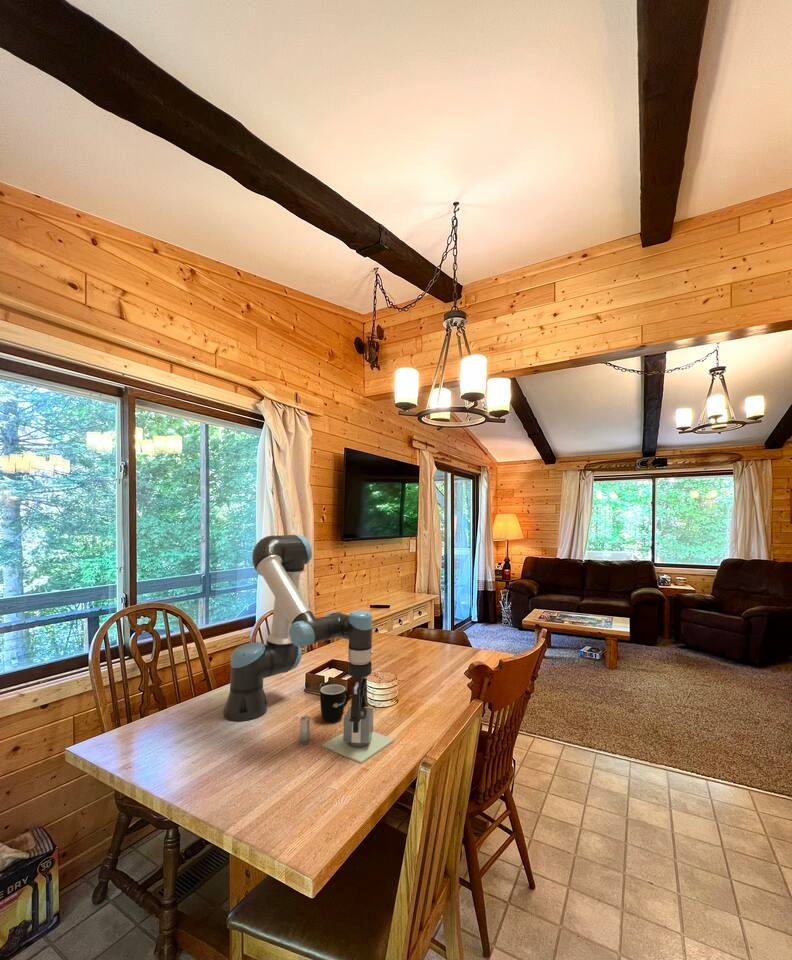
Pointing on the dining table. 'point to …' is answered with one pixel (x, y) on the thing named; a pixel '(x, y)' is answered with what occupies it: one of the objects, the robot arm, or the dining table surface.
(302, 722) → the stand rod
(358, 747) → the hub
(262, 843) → the dining table surface
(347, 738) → the collar
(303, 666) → the dining table surface
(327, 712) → the mug
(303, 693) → the dining table surface
